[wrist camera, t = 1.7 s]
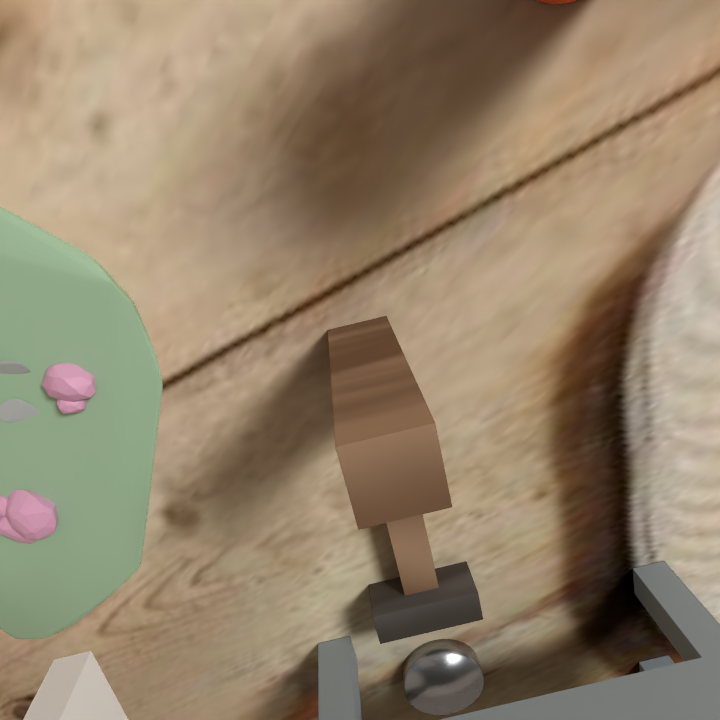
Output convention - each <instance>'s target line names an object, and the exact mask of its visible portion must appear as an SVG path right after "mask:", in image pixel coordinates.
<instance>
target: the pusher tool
mask: <svg viewBox="0 0 720 720" xmlns="http://www.w3.org/2000/svg"><path fill="white" fill-rule="evenodd" d="M328 343H329V358H330V373H331V388H332V403H333V418H334V433H335V447H336V451H337V454H338V458H339V462H340V465H341V469H342V472H343V476H344V480H345V483H346V487H347V490H348V494H349V497H350V501H351V505H352V508H353V512H354V515H355V519H356V522H357V526H358V530H359V529H363V528H367V527H371V526H376V525H380V524H384V523H386V524H387V528H388V532H389V535H390V539H391V543H392V547H393V551H394V555H395V559H396V563H397V567H398V571H399V574H400V578H396V579H392V580H387V581H383V582H379V583H375V584H371V585H369V592H370V600H371V608H372V616H373V620H374V624H375V627H376V631H377V634H378V638H379V641H380V644H382V643H386V642H390V641H394V640H398V639H403V638H407V637H411V636H415V635H419V634H424V633H428V632H432V631H436V630H440V629H445V628H449V627H453V626H457V625H461V624H465V623H470V622H474V621H478V620H482V619H483V616H482V611H481V606H480V601H479V596H478V591H477V589H476V586H475V584H474V581H473V578H472V576H471V573H470V570H469V568H468V565H467V562H462V563H458V564H454V565H450V566H446V567H442V568H437V569H435V568H434V564H433V559H432V555H431V550H430V546H429V542H428V537H427V533H426V528H425V524H424V520H423V515H422V514H425V513H430V512H434V511H438V510H442V509H446V508H450V507H452V504H451V499H450V494H449V489H448V484H447V479H446V474H445V469H444V464H443V459H442V454H441V450H440V445H439V440H438V435H437V430H436V425H435V422H434V419H433V417H432V415H431V413H430V411H429V409H428V406H427V404H426V402H425V400H424V398H423V395H422V393H421V391H420V389H419V387H418V384H417V382H416V380H415V378H414V376H413V373H412V371H411V369H410V367H409V365H408V363H407V360H406V358H405V356H404V354H403V352H402V349H401V347H400V345H399V343H398V341H397V338H396V336H395V334H394V332H393V330H392V328H391V325H390V323H389V321H388V319H387V317H386V316H384V317H380V318H376V319H372V320H368V321H363V322H359V323H355V324H351V325H347V326H343V327H339V328H335V329H331V330H328Z"/></svg>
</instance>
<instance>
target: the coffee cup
mask: <svg viewBox="0 0 720 720" xmlns="http://www.w3.org/2000/svg"><path fill="white" fill-rule="evenodd" d="M536 1H539V2H542V3H548V4H564V3H570V2H574V1H577V0H536Z"/></svg>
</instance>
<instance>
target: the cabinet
mask: <svg viewBox="0 0 720 720" xmlns="http://www.w3.org/2000/svg"><path fill="white" fill-rule="evenodd" d="M633 578H634V593H635V595H636V596H637V597H638V599H639V600H640V601H641V603H642V604H643V606H644V607H645V608H646V610H647V611H648V612H649V614H650V615H651V616H652V618H653V619H654V620H655V622H656V623H657V624H658V626H659V627H660V629H661V630H662V631H663V633H664V634H665V635H666V637H667V638H668V639H669V641H670V642H671V643H672V645H673V646H674V647H675V649H676V650H677V652H678V653H679V654H680V656H681V657H682V658H683V660H684V661H685V662H681V663H677V664H674V662H673V661H672V659H671V658H670V657H669V655H667V656H663V657H659V658H655V659H650V660H646V661H642V662H639V666H640V672H639V673H634V674H630V675H626V676H622V677H617V678H613V679H609V680H605V681H601V682H596V683H592V684H588V685H584V686H580V687H575V688H571V689H567V690H563V691H558V692H554V693H550V694H546V695H542V696H537V697H533V698H529V699H525V700H520V701H516V702H512V703H508V704H504V705H499V706H495V707H491V708H487V709H482V710H478V711H474V712H470V713H466V714H461V715H457V716H453V717H449V718H445V719H440V720H720V624H719V623H718V622H717V621H716V619H715V618H714V617H713V616H712V615H711V614H710V613H709V611H708V610H707V609H706V608H705V607H704V606H703V605H702V603H701V602H700V601H699V600H698V599H697V598H696V597H695V595H694V594H693V593H692V592H691V591H690V590H689V589H688V587H687V586H686V585H685V584H684V583H683V582H682V581H681V579H680V578H679V577H678V576H677V575H676V574H675V573H674V571H673V570H672V569H671V568H670V567H669V566H668V565H667V563H666V562H665V561H662V562H658V563H654V564H650V565H646V566H641V567H637V568H633ZM318 683H319V720H362V715H361V703H360V691H359V678H358V666H357V658H356V655H355V652H354V648H353V645H352V642H351V639H350V636H348V637H344V638H340V639H336V640H331V641H327V642H323V643H319V644H318Z"/></svg>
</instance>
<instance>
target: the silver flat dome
mask: <svg viewBox="0 0 720 720" xmlns="http://www.w3.org/2000/svg"><path fill="white" fill-rule="evenodd" d="M402 675H403V681H404V687H405V693H406V697H407V699H408V701H409V702H410V704H411V705H412V706H413V707H414V708H416V709H417V710H419V711H421V712H424V713H427V714H432V715H447V714H452V713H456V712H458V711H461V710H463V709H465V708H467V707H468V706H470V705H471V704H472V703H473V702H474V701H475V700H476V699H477V698H478V697H479V695H480V694H481V692H482V690H483V686H484V677H483V674H482V670H481V667H480V664H479V661H478V658H477V655H476V653H475V652H474V651H473V649H472V648H471V647H469V646H468V645H466V644H465V643H463V642H460V641H457V640H451V639H439V640H434V641H430V642H427V643H425V644H423V645H421V646H419V647H418V648H416V649H415V650H414V651H412V652H411V654H410V655H409V656H408V657H407V659H406V660H405V662H404V665H403V669H402Z"/></svg>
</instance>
